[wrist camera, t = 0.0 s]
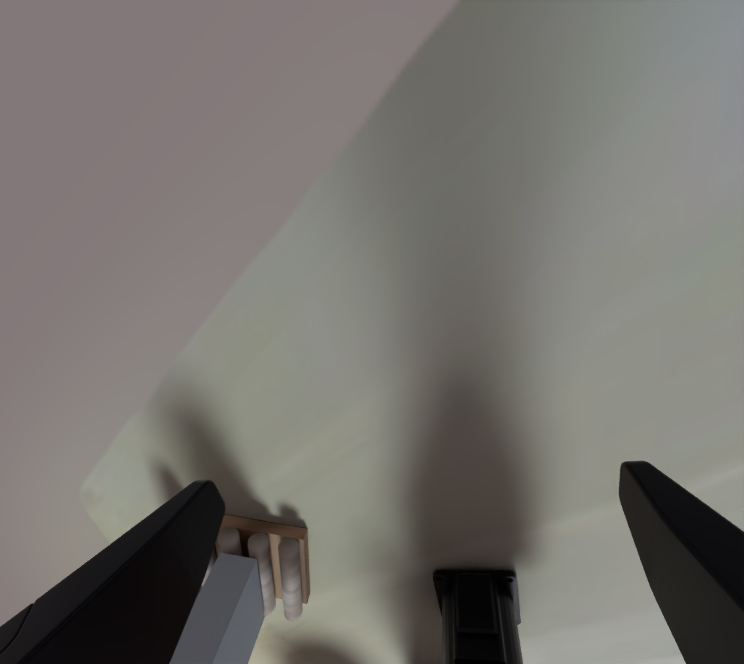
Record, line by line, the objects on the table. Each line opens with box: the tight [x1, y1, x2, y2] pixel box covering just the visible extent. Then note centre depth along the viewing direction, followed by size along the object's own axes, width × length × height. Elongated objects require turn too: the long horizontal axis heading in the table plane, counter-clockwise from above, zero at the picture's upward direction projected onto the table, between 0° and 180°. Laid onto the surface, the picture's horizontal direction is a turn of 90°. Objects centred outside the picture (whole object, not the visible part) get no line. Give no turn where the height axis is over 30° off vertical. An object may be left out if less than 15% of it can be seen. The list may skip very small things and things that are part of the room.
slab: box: [170, 553, 265, 664], centre depth 29 cm, size 3×8×10 cm, turn 177°
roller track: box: [198, 515, 310, 621], centre depth 34 cm, size 11×9×5 cm
